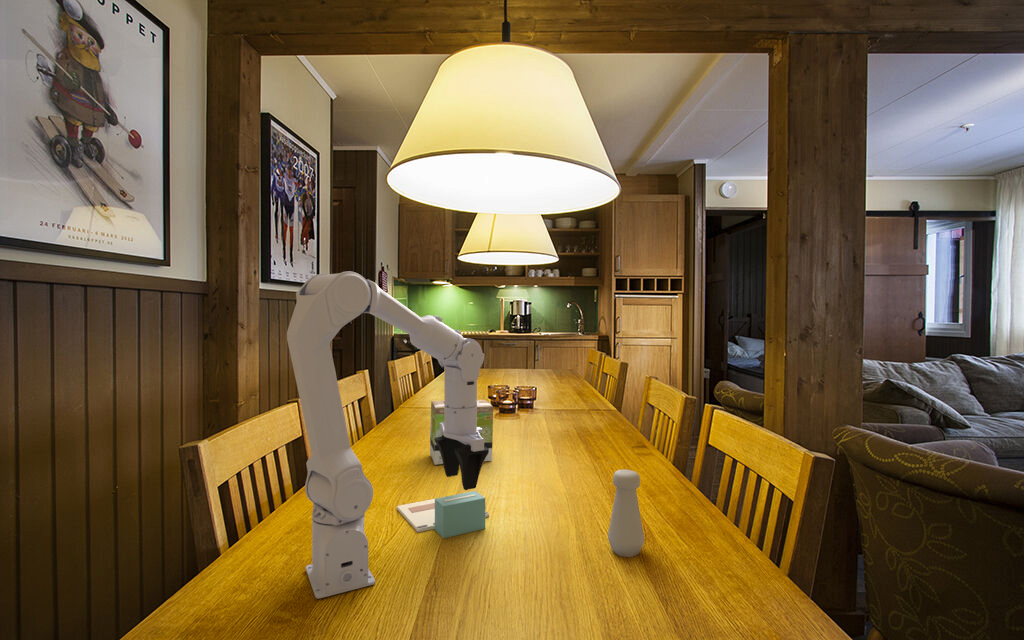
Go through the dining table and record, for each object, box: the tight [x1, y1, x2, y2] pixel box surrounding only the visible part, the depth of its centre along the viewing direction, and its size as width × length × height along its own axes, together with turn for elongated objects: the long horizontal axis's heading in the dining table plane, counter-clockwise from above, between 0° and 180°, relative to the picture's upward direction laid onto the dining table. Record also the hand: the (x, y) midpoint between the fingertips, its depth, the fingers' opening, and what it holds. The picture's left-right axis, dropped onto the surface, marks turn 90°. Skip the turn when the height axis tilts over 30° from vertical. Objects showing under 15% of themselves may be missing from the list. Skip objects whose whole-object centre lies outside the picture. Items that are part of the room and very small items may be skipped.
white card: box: [396, 498, 490, 533], centre depth 98 cm, size 12×14×1 cm
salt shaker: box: [607, 469, 645, 558], centre depth 83 cm, size 6×6×13 cm
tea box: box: [429, 399, 494, 466], centre depth 134 cm, size 15×10×15 cm, turn 105°
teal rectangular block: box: [434, 490, 486, 539], centre depth 91 cm, size 4×8×6 cm, turn 120°
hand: (460, 481), depth 91 cm, fingers open, 7 cm apart
